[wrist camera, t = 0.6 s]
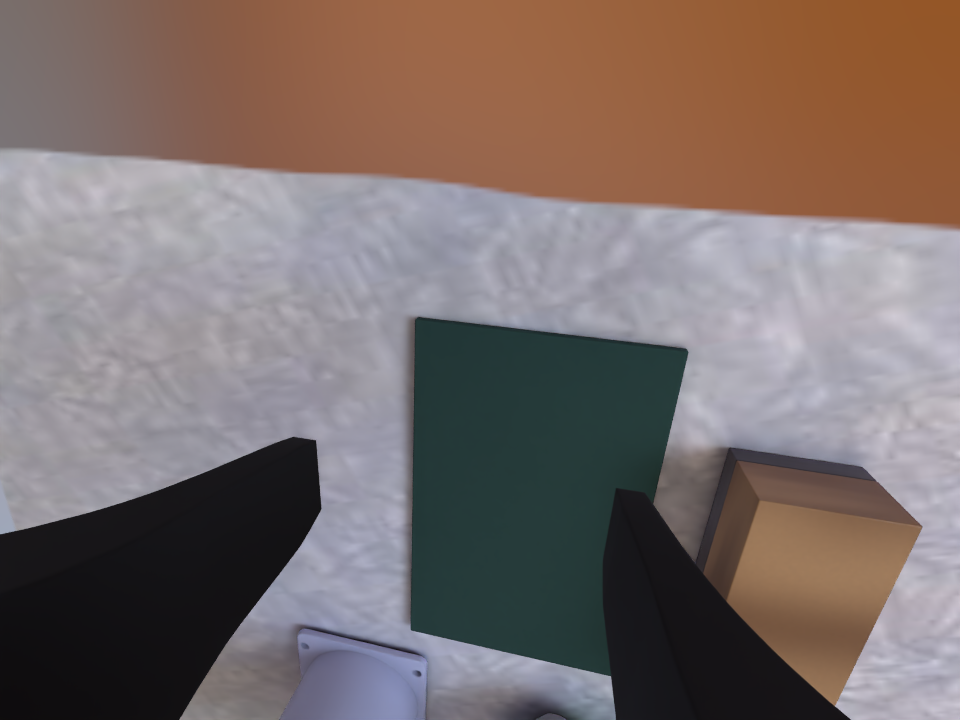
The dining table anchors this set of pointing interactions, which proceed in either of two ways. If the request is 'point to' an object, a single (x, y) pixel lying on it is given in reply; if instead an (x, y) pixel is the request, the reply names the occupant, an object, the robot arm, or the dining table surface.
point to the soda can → (551, 717)
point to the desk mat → (528, 480)
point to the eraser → (806, 557)
